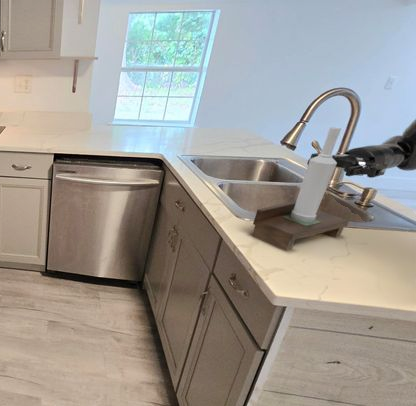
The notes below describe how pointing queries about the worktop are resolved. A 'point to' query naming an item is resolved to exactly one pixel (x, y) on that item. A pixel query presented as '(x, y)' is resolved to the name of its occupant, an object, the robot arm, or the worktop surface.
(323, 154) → the bottle
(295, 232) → the shelf
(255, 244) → the worktop surface
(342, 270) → the worktop surface
